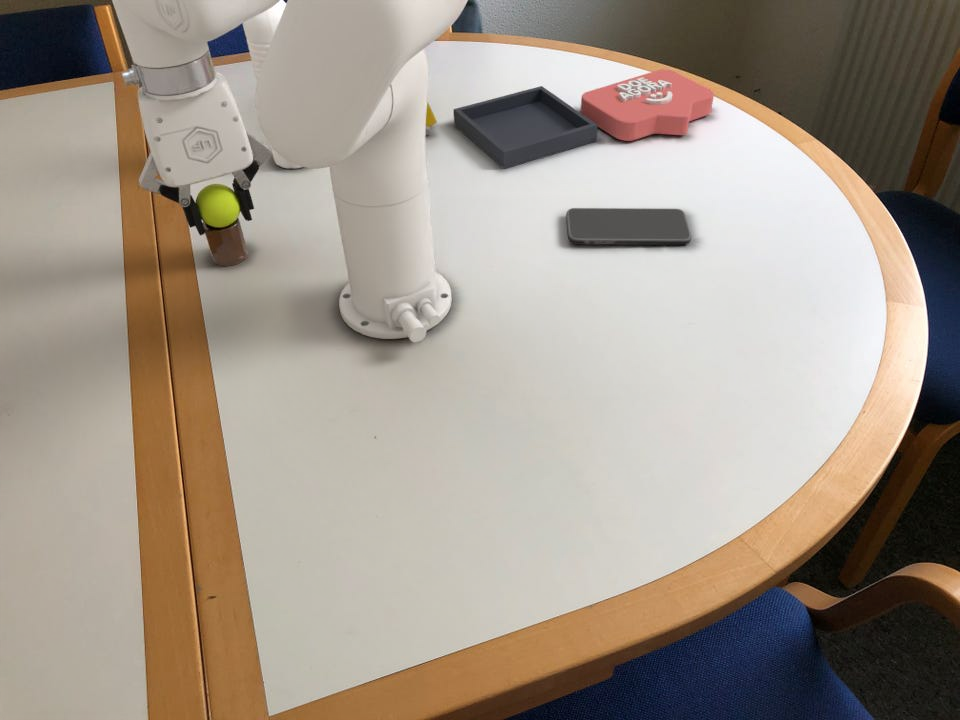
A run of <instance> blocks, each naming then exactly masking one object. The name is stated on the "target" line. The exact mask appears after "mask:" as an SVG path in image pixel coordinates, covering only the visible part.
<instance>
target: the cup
mask: <svg viewBox="0 0 960 720" xmlns="http://www.w3.org/2000/svg"><path fill="white" fill-rule="evenodd" d="M202 223H203V226H204V229H205V232H206V233H204V236H205V239H206V243H207V246H208V250H209V252H210V255H211V257H212V261H213V262H214V264H216V265H218V266H221V267H231V266H236V265H238V264H241V263H242V262H243V261H245V260H246V259H247V257H248V255H249V252H248V246H247V243H246V238H245V237H244V236H245V235H244V233H243V229H242V225H241V221H240V218H239V217H238V218H237V219H236V220H235V221H234V222H233V223H232V224H230V225H229V226H226V227H213V226H210V225H208V224H206V223H205V222H204V221H202Z"/></svg>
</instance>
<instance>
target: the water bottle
mask: <svg viewBox="0 0 960 720" xmlns="http://www.w3.org/2000/svg"><path fill="white" fill-rule="evenodd" d="M286 3H287V2H285V1H284V0H280V1H279V2H278V3H277V4H275V5H274V6H273V7H271V8H270V9H268V10H266V11H264V12H263V13H261V14H259V15H257V16H255V17H253V18H251V19H249V20H247V21H245V22H244V23H242V27H243V32H244V36H245V38H246V44H247V48H248V51H249V56H250V61H251V63H252V69H253V73H254V76H255V77H254V79H255V84H256V85H257V80H258V76H259V73H260V70H261V67H262V64H263V62H264V59H265V57H266V54H267V51H268V49H269V46H270V44H271V41H272V39H273V36H274V34H275V31H276V29H277V26H278V24H279V21H280V19H281V16H282V13H283V11H284V8H285V6H286ZM270 148H271V153H272V157H273V162H274V163H275V164H276V165H277V166H280V167H281V168H284V169H292V170H293V169H301V168H303V167H302V166H298V165H295V164H293V163H291V162H289V161H288V160H286V159H284V158H283V157H282V156H280V155H279V154H278V153H277V152H276V151H275V150H274V149H273V148H272V147H271V146H270Z"/></svg>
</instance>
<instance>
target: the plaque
mask: <svg viewBox="0 0 960 720" xmlns="http://www.w3.org/2000/svg"><path fill="white" fill-rule="evenodd" d="M714 97H715V92H714V91H713V90H712V89H711V88H708V87H706V86H704V85H702V84H700V83H699V82H696V81H694V80H692V79H690V78H688V77H686V76H684V75H682V74H680V73H678V72H677V71H674V70H671V69H657V70H654V71H651V72H648V73H643V74H641V75H638V76H634V77H631V78H628V79H625V80H621V81H618V82H614V83H611V84H608V85H605V86H601V87H597V88H595V89H592V90H588V91H586V92H584V93H583V94H582V95H581V101H580V113H581V114H583V115H584V116H585V117H587V118H588V119H590V120H591V121H593V122H594V123H596V124H597V125H598V128H599V129H600V130H602V131H604V132H605V133H607V134H609V135H610V136H612V137H614V138H616V139H618V140H620V141H625V142H632V141H635V140H638V139H642V138H645V137H648V136H651V135H654V134H657V135H658V134H659V135H673V136H685V135H687V134H688V132H689V125H690V122H692V121H694V120H697V119H700V118H704V117H706V116H709V115H710V114H711V113H712V109H713V108H712V107H713V102H714Z"/></svg>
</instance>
